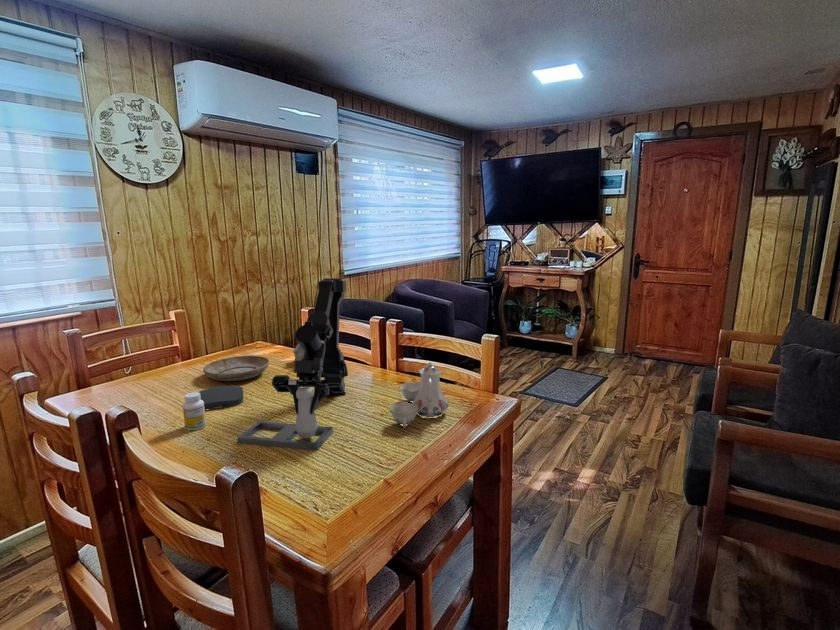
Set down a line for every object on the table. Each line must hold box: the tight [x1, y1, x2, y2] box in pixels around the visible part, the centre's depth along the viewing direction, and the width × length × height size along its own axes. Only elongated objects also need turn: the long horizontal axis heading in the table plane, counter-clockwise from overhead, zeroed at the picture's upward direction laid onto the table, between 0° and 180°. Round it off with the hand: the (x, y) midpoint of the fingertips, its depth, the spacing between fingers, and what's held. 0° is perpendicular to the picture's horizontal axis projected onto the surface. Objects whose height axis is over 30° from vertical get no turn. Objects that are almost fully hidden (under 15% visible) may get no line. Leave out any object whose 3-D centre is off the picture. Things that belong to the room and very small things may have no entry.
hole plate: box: [236, 420, 334, 451], centre depth 121 cm, size 22×10×2 cm, turn 78°
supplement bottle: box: [182, 391, 207, 431], centre depth 127 cm, size 5×5×10 cm
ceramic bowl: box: [203, 355, 270, 382], centre depth 171 cm, size 23×24×5 cm
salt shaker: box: [295, 387, 319, 439], centre depth 118 cm, size 6×6×13 cm
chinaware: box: [389, 361, 449, 429], centre depth 135 cm, size 28×17×17 cm, turn 178°
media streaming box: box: [198, 385, 244, 410], centre depth 147 cm, size 15×15×3 cm
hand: (304, 413), depth 117 cm, fingers closed on salt shaker, 3 cm apart
